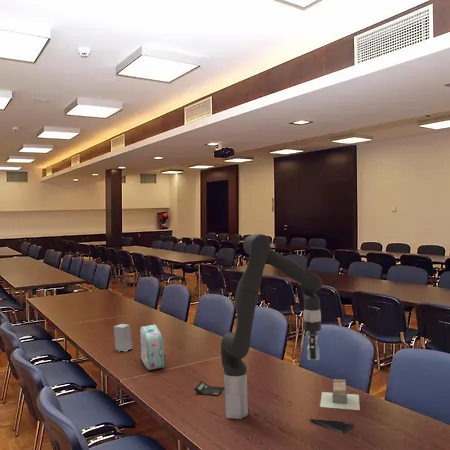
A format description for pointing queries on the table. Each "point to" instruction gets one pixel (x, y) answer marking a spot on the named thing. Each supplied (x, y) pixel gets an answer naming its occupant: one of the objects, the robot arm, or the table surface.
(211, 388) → the calculator
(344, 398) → the base brick
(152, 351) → the lunch box
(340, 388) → the birch block
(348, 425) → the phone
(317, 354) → the blue block
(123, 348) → the skincare box
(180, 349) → the table surface
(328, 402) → the plate
